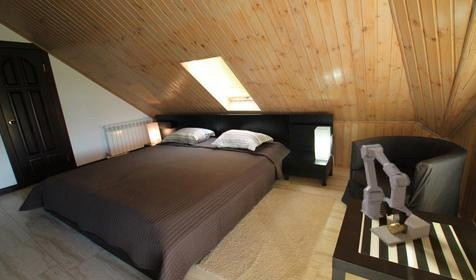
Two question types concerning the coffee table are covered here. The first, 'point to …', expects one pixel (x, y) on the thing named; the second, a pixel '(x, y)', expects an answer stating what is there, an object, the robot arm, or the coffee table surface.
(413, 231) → the housing
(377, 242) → the coffee table surface
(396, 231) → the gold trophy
